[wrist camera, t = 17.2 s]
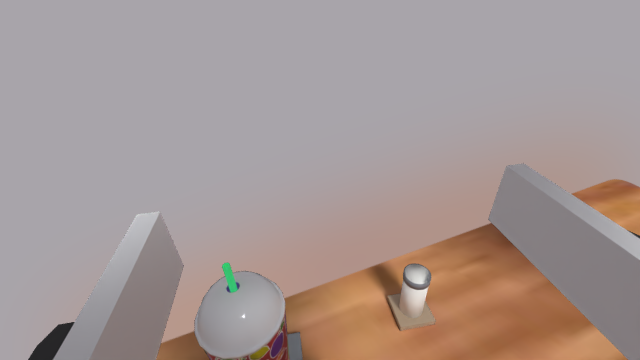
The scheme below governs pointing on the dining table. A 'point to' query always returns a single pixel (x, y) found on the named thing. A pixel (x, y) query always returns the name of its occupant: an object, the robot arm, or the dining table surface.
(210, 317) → the smoothie
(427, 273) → the post
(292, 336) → the mat
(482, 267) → the dining table surface
